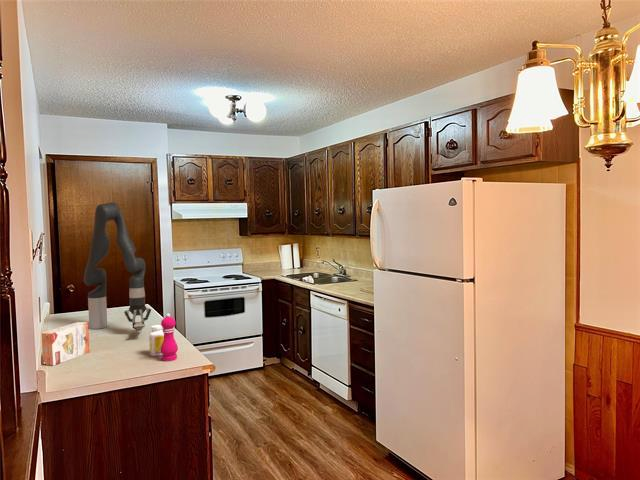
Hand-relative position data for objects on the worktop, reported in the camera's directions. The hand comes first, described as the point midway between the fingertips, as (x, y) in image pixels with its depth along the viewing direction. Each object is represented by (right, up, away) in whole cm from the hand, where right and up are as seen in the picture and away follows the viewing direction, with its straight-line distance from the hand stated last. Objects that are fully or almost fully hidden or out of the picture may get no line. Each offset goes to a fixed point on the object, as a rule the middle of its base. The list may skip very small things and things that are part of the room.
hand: (138, 328), depth 249 cm
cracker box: (-13, +2, -30) cm, 33 cm away
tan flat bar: (+3, +1, -6) cm, 7 cm away
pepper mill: (+30, -5, -43) cm, 53 cm away
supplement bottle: (+22, -5, -36) cm, 42 cm away
